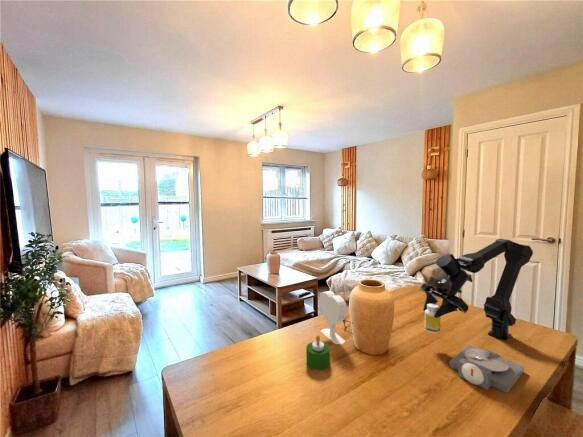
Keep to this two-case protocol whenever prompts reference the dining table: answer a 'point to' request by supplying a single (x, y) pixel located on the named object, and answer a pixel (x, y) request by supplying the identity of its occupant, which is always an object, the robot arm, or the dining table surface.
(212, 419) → the dining table surface
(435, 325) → the supplement bottle
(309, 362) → the candle
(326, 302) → the heart sculpture
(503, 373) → the scale housing
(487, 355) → the scale pan
